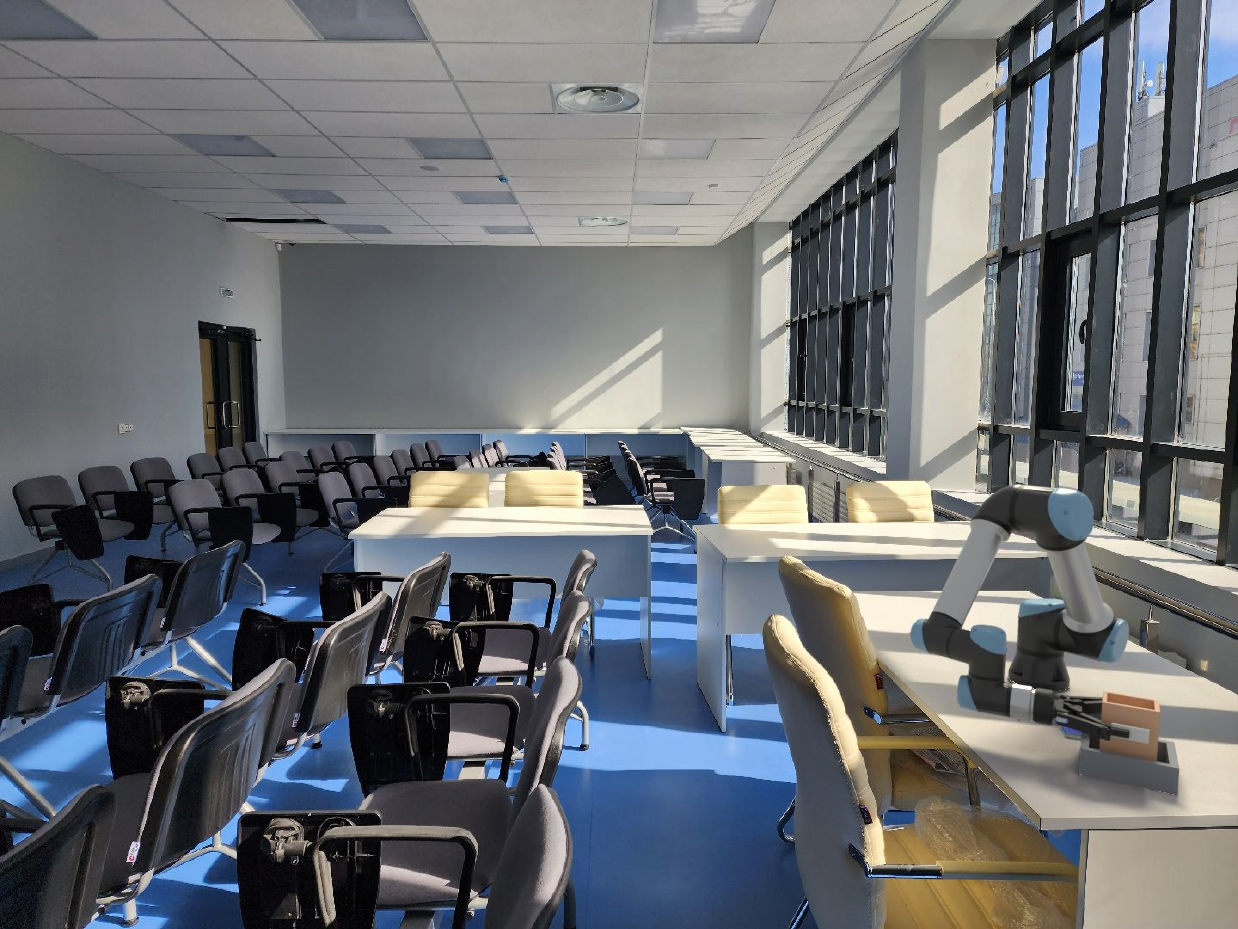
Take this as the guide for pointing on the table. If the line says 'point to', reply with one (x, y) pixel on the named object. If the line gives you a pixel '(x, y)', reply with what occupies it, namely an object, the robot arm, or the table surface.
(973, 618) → the table surface
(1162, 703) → the table surface
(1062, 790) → the table surface
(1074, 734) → the hard drive
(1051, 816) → the table surface
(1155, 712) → the tall tapered brown container
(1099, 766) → the tray
